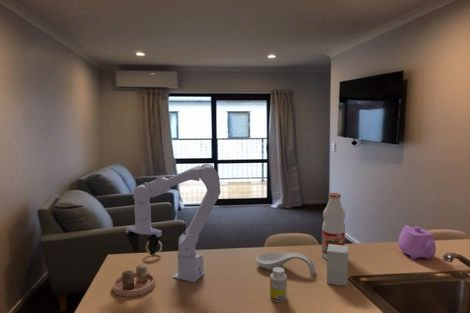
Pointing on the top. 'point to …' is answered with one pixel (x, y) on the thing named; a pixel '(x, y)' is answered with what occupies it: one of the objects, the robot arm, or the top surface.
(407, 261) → the top surface
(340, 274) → the supplement box
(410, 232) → the purple animal planter
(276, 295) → the supplement bottle
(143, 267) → the beige tall rounded piece
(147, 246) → the ring
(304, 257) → the spoon rest
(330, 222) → the fruit juice
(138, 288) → the dish
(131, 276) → the brown short cylinder
